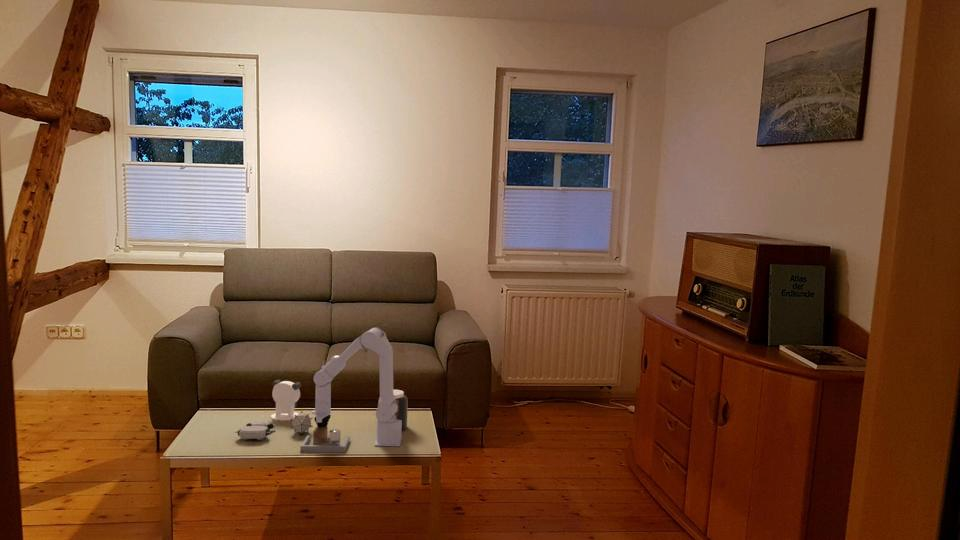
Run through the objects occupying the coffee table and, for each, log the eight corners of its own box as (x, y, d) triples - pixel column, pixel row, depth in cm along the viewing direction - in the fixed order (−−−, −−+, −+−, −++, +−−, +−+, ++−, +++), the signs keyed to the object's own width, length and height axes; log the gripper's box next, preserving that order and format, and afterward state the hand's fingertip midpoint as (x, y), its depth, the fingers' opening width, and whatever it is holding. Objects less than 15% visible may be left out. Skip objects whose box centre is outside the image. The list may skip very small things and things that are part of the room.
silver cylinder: (340, 444, 229) (340, 429, 228) (339, 448, 225) (340, 433, 224) (329, 444, 228) (329, 429, 228) (328, 449, 224) (328, 433, 224)
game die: (298, 443, 238) (284, 427, 233) (298, 429, 245) (284, 412, 240) (318, 433, 238) (304, 416, 233) (318, 418, 245) (305, 402, 240)
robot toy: (245, 431, 241) (233, 442, 226) (245, 420, 241) (233, 430, 226) (277, 431, 242) (267, 443, 227) (277, 420, 242) (267, 430, 227)
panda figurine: (305, 413, 262) (306, 379, 260) (291, 422, 251) (291, 386, 250) (280, 410, 265) (281, 376, 263) (265, 418, 254) (265, 383, 252)
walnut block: (327, 438, 234) (327, 427, 234) (325, 443, 230) (325, 431, 229) (315, 438, 234) (315, 427, 234) (313, 442, 229) (313, 431, 229)
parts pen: (349, 441, 233) (349, 435, 233) (344, 452, 222) (345, 446, 222) (307, 440, 232) (307, 435, 232) (300, 451, 221) (300, 446, 221)
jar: (404, 433, 243) (405, 397, 241) (375, 432, 243) (376, 395, 241) (408, 423, 254) (409, 388, 253) (380, 422, 255) (381, 387, 253)
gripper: (316, 394, 241) (315, 427, 243) (308, 405, 227) (307, 441, 228) (334, 394, 242) (333, 428, 243) (327, 406, 227) (326, 441, 229)
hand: (322, 434), depth 236 cm, fingers closed
